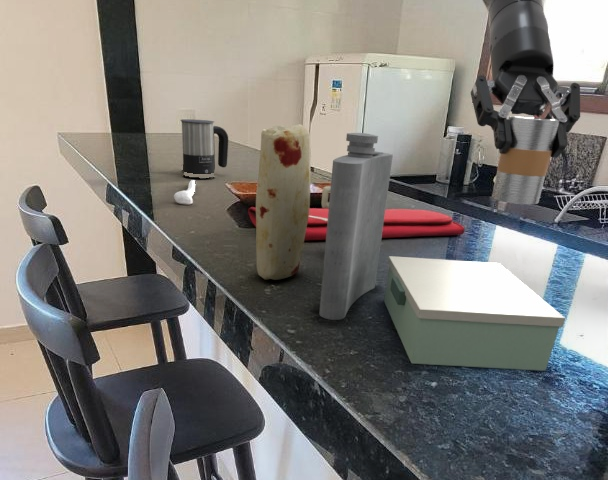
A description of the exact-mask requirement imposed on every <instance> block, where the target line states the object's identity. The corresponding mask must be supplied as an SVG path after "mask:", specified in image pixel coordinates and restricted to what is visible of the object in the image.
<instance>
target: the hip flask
mask: <svg viewBox="0 0 608 480" xmlns="http://www.w3.org/2000/svg"><path fill="white" fill-rule="evenodd" d="M378 140H379V135H375V134H371V133H367V132H347V133H346V136H345V141H346V142H348V145H347V146H346V152H347V154H346V155H341V156H339V157H335V158H334V159H333V160H332V167H331V168H332V169H331V179H330V186H331V189H330V193H329V199H328V202H329V208H328V209H329V211H328V223H327V234H326V240H325V247H324V256H323V257H324V258H323V268H322V278H321V291H320V301H319V302H320V303H319V311H318V312H319V313H318V314H319V316H320V317H321V318H323V319H326V320H331V321H340V320H343V319H345V318H346V317H347V313H348V311H349V309H350V308H351V307H352V305H353V304H354V303H355V302H356V301H357V300H358V299H360V297H361V296H363V295H365V294H366V293H368V292H370V291H371V290H373V289H375V288H376V282H377V281H376V280H377V273H378V266H379V258H380V252H381V244H382V239H383V238H382V231H383V223H384V216H385V209H387V200H388V193H389V186H390V179H391V171H392V164H393V157H394V156H393V153H389V152H381V151H376V148H375V147H374V145H375V144H378Z"/></svg>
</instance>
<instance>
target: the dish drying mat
mask: <svg viewBox="0 0 608 480" xmlns="http://www.w3.org/2000/svg"><path fill="white" fill-rule="evenodd" d="M328 211H329V208H316V207H315V208H314V207H313V208H311V207H309V217H308V222H307V228H306V233H305V238H304V242H305V241H308V242H309V241H326V234H327V223H328ZM247 213H248V216H249V218H250V219H249V220H250V221H251V223H252V224H253V225H254V227H255V228H256V206H255V207H254V206H251V207H249V208H248V212H247ZM465 231H466V230H465V226H463V225H461V224H460V223H458V222H455V221H453V217H452V216H450V215H448V214H444V213H441V212H438V211H433V210H428V209H427V210H425V209H408V208H390V209H387V208H386V209H385V216H384V223H383V231H382V238H381V239H392V238H394V239H395V238H411V237H436V236H437V237H441V236H445V237H446V236H461V235H463V234H464V233H465Z"/></svg>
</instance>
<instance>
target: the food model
mask: <svg viewBox="0 0 608 480" xmlns="http://www.w3.org/2000/svg"><path fill="white" fill-rule="evenodd" d="M260 134H261V136H260V148H259V149H260V150H259V159H258V160H259V161H258V173H257V174H258V175H257V184H256V191H255V207H256V227H255V228H256V229H255V231H256V232H255V233H256V234H255V235H256V237H255V238H256V239H255V240H256V241H255V243H256V244H255V245H256V247H255V249H256V252H255V253H256V270H257V275H258V276H259V277H261V278H262V279H264V280H265V281H266V280H267V281H268V280H273V281H279V280H282V279H286V278H287V279H288V278H289V277H292V276H294V275H295V274H296V273H297V272H299V269H300V265H301V264H300V263H301V258H302V252H303V248H304V242H305V241H304V238H305V233H306V228H307V222H308V217H309V208H311V207H310V206H311V176H312V175H311V156H312V155H311V152H312V151H311V132H310V131H309V129H308V128H307V127H305V126H304V125H303V124H301V123H298V124H294V125H291V126H281V125H274V126H272V127H269V128H267V129H265V128H263V129H262V131H261V133H260Z"/></svg>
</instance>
